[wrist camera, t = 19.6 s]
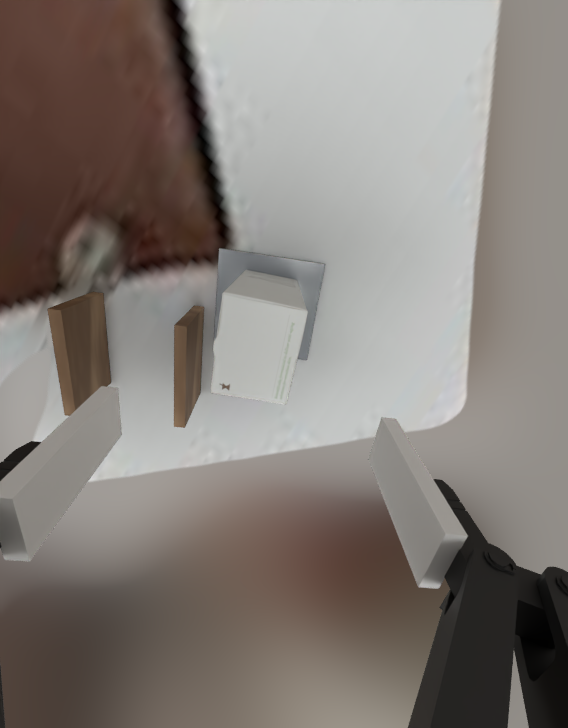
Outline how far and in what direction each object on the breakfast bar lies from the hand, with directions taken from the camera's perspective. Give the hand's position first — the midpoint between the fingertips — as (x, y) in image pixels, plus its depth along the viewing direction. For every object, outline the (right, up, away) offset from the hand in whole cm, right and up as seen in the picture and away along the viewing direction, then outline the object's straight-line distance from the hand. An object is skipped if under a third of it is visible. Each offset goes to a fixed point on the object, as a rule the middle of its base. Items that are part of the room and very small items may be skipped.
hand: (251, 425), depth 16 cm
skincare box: (-1, +10, +22) cm, 24 cm away
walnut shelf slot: (-15, +5, +24) cm, 29 cm away
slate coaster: (-1, +10, +22) cm, 25 cm away
